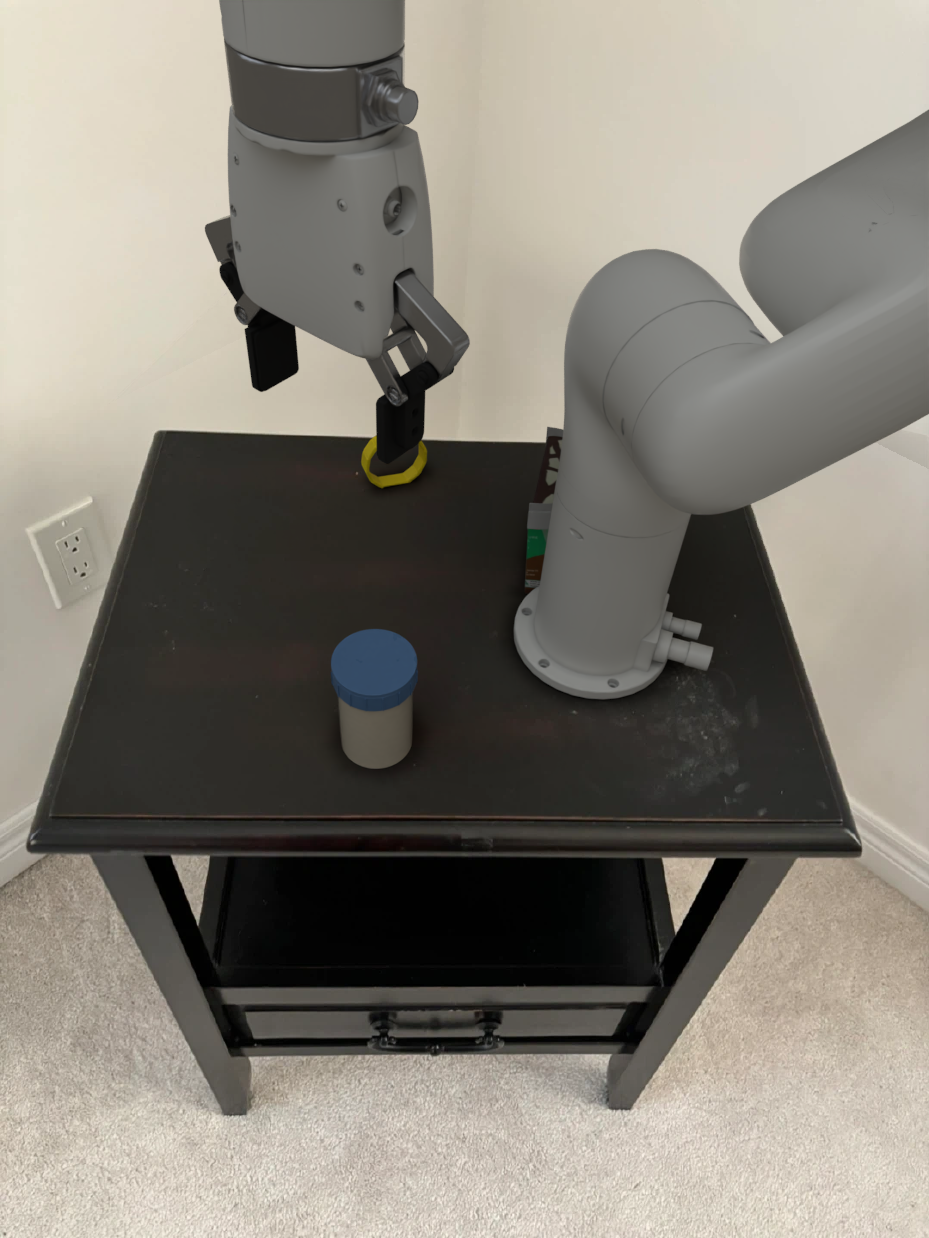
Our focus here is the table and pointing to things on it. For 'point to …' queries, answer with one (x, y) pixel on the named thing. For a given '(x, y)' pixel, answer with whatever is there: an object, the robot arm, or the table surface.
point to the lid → (374, 670)
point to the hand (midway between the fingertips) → (336, 414)
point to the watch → (395, 478)
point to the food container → (542, 509)
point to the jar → (376, 734)
